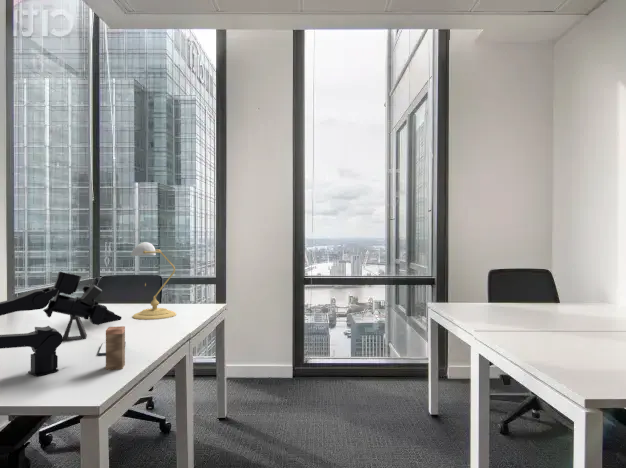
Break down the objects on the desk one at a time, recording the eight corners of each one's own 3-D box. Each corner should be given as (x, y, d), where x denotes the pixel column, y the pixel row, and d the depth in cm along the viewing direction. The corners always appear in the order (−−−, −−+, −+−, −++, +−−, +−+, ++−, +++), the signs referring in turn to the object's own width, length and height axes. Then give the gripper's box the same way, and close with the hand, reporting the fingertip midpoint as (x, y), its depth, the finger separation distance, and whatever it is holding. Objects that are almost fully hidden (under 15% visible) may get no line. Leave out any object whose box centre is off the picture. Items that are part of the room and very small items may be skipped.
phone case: (123, 355, 160) (125, 344, 175) (123, 351, 160) (125, 340, 175) (97, 358, 156) (101, 346, 171) (97, 353, 156) (101, 342, 171)
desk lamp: (132, 312, 245) (132, 241, 246) (174, 309, 253) (174, 241, 254) (129, 322, 216) (129, 242, 217) (177, 319, 225) (177, 242, 225)
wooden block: (105, 370, 140) (105, 330, 140) (108, 365, 145) (108, 327, 145) (122, 369, 141) (122, 329, 142) (124, 364, 146) (124, 326, 146)
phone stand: (87, 336, 188) (87, 308, 188) (86, 339, 182) (86, 310, 182) (63, 338, 184) (63, 309, 184) (61, 341, 179) (61, 312, 179)
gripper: (85, 285, 137) (133, 297, 146) (73, 279, 152) (118, 291, 161) (72, 319, 135) (121, 329, 144) (61, 310, 149) (107, 320, 159)
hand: (117, 316), depth 152 cm, fingers open, 9 cm apart
